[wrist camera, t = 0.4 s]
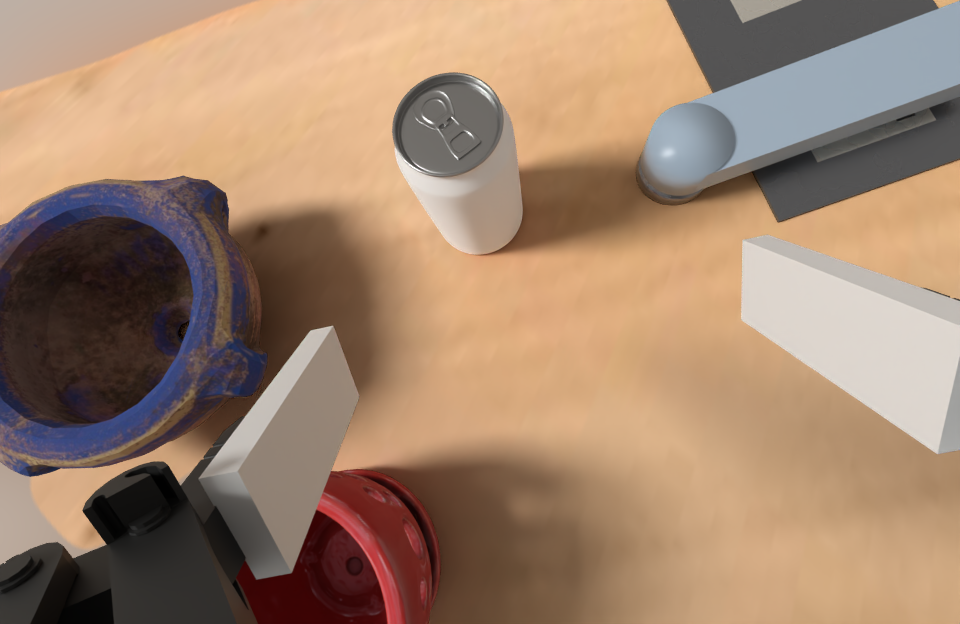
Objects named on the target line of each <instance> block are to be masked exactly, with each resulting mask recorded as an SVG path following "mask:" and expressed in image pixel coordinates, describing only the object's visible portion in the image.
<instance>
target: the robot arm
mask: <svg viewBox="0 0 960 624" xmlns="http://www.w3.org/2000/svg"><path fill="white" fill-rule="evenodd" d="M741 320H742V321H743V322H745V323H746V324H748V325H749V326H751V327H752V328H754V329H755V330H757V331H758V332H760V333H761V334H762V335H764V336H765V337H767V338H768V339H770V340H771V341H773V342H774V343H776V344H777V345H779V346H780V347H781V348H783V349H784V350H786V351H787V352H789V353H790V354H792V355H793V356H795V357H796V358H798V359H799V360H800V361H802V362H803V363H805V364H806V365H808V366H809V367H811V368H812V369H814V370H815V371H817V372H818V373H819V374H821V375H822V376H824V377H825V378H827V379H828V380H830V381H831V382H833V383H834V384H836V385H837V386H838V387H840V388H841V389H843V390H844V391H846V392H847V393H849V394H850V395H852V396H853V397H855V398H856V399H857V400H859V401H860V402H862V403H863V404H865V405H866V406H868V407H869V408H871V409H872V410H874V411H875V412H876V413H878V414H879V415H881V416H882V417H884V418H885V419H887V420H888V421H890V422H891V423H893V424H894V425H895V426H897V427H898V428H900V429H901V430H903V431H904V432H906V433H907V434H909V435H910V436H912V437H913V438H914V439H916V440H917V441H919V442H920V443H922V444H923V445H925V446H926V447H928V448H929V449H931V450H932V451H933V452H935V453H936V454H941V453H946V452H952V451H957V450H960V300H959V299H956V298H953V299H952V298H950V296H947V295H944V294H941V293H938V292H935V291H932V290H930V289H927V288H921V287H917V286H914V285H911V284H909V283H906V282H903V281H900V280H897V279H894V278H891V277H888V276H885V275H883V274H880V273H877V272H874V271H871V270H868V269H865V268H862V267H859V266H856V265H854V264H851V263H848V262H845V261H842V260H839V259H836V258H833V257H830V256H828V255H825V254H822V253H819V252H816V251H813V250H810V249H807V248H804V247H802V246H799V245H796V244H793V243H790V242H787V241H784V240H781V239H778V238H775V237H773V236H770V235H764V236H759V237H755V238H750V239H745V240H743V251H742V311H741ZM358 400H359V394H358V391H357V388H356V386H355V383H354V380H353V378H352V375H351V372H350V369H349V367H348V364H347V361H346V359H345V356H344V353H343V350H342V348H341V345H340V342H339V340H338V337H337V334H336V331H335V329H334V326H329V327H325V328H320V329H315V330H310V332H309V333H308V334H307V336H306V337H305V338H304V340H303V341H302V342H301V344H300V345H299V346H298V348H297V349H296V350H295V352H294V353H293V354H292V356H291V357H290V358H289V360H288V361H287V362H286V364H285V365H284V366H283V367H282V369H281V370H280V371H279V373H278V374H277V375H276V377H275V378H274V379H273V381H272V382H271V383H270V385H269V386H268V387H267V389H266V390H265V391H264V393H263V394H262V395H261V397H260V398H259V399H258V401H257V402H256V403H255V404H254V406H253V407H252V408H251V410H250V411H249V412H248V414H247V415H246V416H244V417H241V418H240V419H238V420H237V421H236V422H235V423H233V424H232V425H231V426H230V427H228V428H227V429H226V430H225V431H224V432H223V433H222V434H221V435H220V437H219V438H218V439H217V441H216V442H215V443H214V444H213V448H210V449H209V451H208V452H207V453H206V454H205V456H204V459H203V460H201V461H200V462H199V463H198V465H197V466H196V467H195V468H194V470H193V471H192V472H191V473H190V475H189V476H188V477H187V478H186V480H185V481H184V482H183V484H182V485H181V486H180V484H179V483H178V481H177V479H176V478H175V476H174V474H173V473H172V471H171V469H170V468H169V466H168V465H167V464H166V463H164V462H150V463H146V464H142V465H139V466H137V467H134V468H132V469H130V470H128V471H125V472H123V473H122V474H120V475H118V476H117V477H115V478H113V479H112V480H110V481H108V482H107V483H106V484H104V485H103V486H102V487H101V488H99V489H98V490H97V491H96V492H95V493H94V494H93V495H92V496H91V497H90V498H89V499H88V500H87V501H86V503H85V506H84V508H83V513H84V514H85V515H86V517H87V518H88V519H89V521H90V522H91V524H92V525H93V526H94V528H95V529H96V530H97V532H98V533H99V534H100V536H101V537H102V539H103V540H104V541H105V543H106V544H107V545H105V546H103V547H100V548H98V549H95V550H93V551H90V552H88V553H85V554H83V555H81V556H78V557H76V558H72V557H71V555H70V554H69V553H68V551H67V550H66V549H65V548H64V546H62V545H61V544H59V543H58V542H56V543H46V544H43V545H40V546H37V547H35V548H32V549H30V550H28V551H26V552H24V553H22V554H20V555H16V556H14V557H12V558H11V559H9V560H7V561H6V563H5V564H4V563H3V564H1V565H0V624H258V623H257V620H256V618H255V616H254V614H253V611H252V609H251V607H250V605H249V602H248V600H247V598H246V595H245V593H244V591H243V589H242V587H241V585H240V584H239V582H238V580H237V579H236V577H237V575H238V573H239V571H240V569H241V567H242V565H243V563H244V561H246V562H247V564H248V566H249V568H250V569H251V571H252V573H253V574H254V576H255V578H256V580H257V579H262V578H268V577H273V576H279V575H284V574H290V573H292V571H293V568H294V566H295V563H296V561H297V558H298V555H299V553H300V550H301V548H302V545H303V542H304V540H305V537H306V535H307V532H308V529H309V527H310V524H311V522H312V519H313V516H314V514H315V511H316V509H317V506H318V503H319V501H320V498H321V496H322V493H323V490H324V488H325V485H326V483H327V480H328V478H329V475H330V472H331V470H332V467H333V465H334V462H335V459H336V457H337V454H338V452H339V449H340V446H341V444H342V441H343V439H344V436H345V433H346V431H347V428H348V426H349V423H350V420H351V418H352V415H353V413H354V410H355V407H356V405H357V402H358Z"/></svg>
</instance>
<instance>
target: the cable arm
mask: <svg viewBox="0 0 960 624" xmlns="http://www.w3.org/2000/svg"><path fill="white" fill-rule="evenodd" d="M957 97H960V1H958V2H955V3H952V4H950V5H947V6H944V7H942V8H939V9H936V10H934V11H931V12H928V13H926V14H923V15H920V16H918V17H915V18H912V19H910V20H907V21H904V22H902V23H899V24H896V25H894V26H891V27H888V28H886V29H883V30H880V31H878V32H875V33H872V34H870V35H867V36H864V37H862V38H859V39H856V40H854V41H851V42H848V43H846V44H843V45H840V46H838V47H835V48H832V49H830V50H827V51H824V52H822V53H819V54H816V55H814V56H811V57H808V58H806V59H803V60H800V61H798V62H795V63H792V64H790V65H787V66H784V67H782V68H779V69H776V70H774V71H771V72H768V73H766V74H763V75H760V76H758V77H755V78H752V79H750V80H747V81H744V82H742V83H739V84H736V85H734V86H731V87H728V88H726V89H723V90H720V91H718V92H715V93H712V94H710V95H707V96H704V97H702V98H699V99H696V100H694V101H691V102H688V103H684V104H679V105H676V106H674V107H671V108H670V109H668V110H666V111H665V112H664V113H662V114H661V115H660V116H659V117H658V119H657V120H656V121H655V123H654V125H653V127H652V129H651V132H650V134H649V136H648V139H647V141H646V144H645V146H644V148H643V151H642V154H641V160H640V164H641V170H642V173H643V175H644V177H645V179H646V180H647V182H648V183H649V184H650V185H651V186H652V187H654V188H655V189H657V190H658V191H660V192H662V193H665V194H668V195H674V196H683V195H689V194H692V193H695V192H697V191H699V190H701V189H704V188H707V187H709V186H712V185H715V184H718V183H721V182H723V181H726V180H729V179H732V178H734V177H737V176H740V175H743V174H746V173H748V172H751V171H754V170H757V169H760V168H762V167H765V166H768V165H771V164H773V163H776V162H779V161H782V160H785V159H787V158H790V157H793V156H796V155H799V154H801V153H804V152H807V151H810V150H812V149H815V148H818V147H821V146H824V145H826V144H829V143H832V142H835V141H838V140H840V139H843V138H846V137H849V136H851V135H854V134H857V133H860V132H863V131H865V130H868V129H871V128H874V127H877V126H879V125H882V124H885V123H888V122H890V121H893V120H896V119H899V118H902V117H904V116H907V115H910V114H913V113H916V112H918V111H921V110H924V109H927V108H929V107H932V106H935V105H938V104H941V103H943V102H946V101H949V100H952V99H955V98H957Z"/></svg>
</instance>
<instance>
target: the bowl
mask: <svg viewBox="0 0 960 624" xmlns="http://www.w3.org/2000/svg"><path fill="white" fill-rule="evenodd" d="M227 201H228V200H227V196H226V193H225V192H223V191H222V190H220V189H219V188H218V187H216V186H215V185H213V184H212V183H211V182H209V181H208V180H200V179H192V178H189V177H186V176H180V177H177V178H172V179H167V180H155V181H131V180H114V179H104V180H99V181H94V182H88V183H83V184H77V185H72V186H69V187H66V188H64V189H62V190H59V191H57V192H55V193H53V194H50V195H48V196H46V197H44V198H41V199H39V200H37V201H35V202H33V203H31V204H30V205H29V206H28V207H26V208H25V209H24V210H23V211H22V212H20V213H19V214H18V215H17V216H16V217H14V218H13V219H12V220H11V221H10V222H8V223H6V224H3V225H0V462H1V463H3V464H4V465H5V466H7V467H8V468H10V469H11V470H13V471H15V472H18V473H20V474H22V475H25V476H29V477H31V476H39V475H42V474H46V473H50V472H53V471H56V470H58V469H60V468H63V469H65V468H96V467H103V466H109V465H113V464H116V463H119V462H123V461H126V460H129V459H133V458H136V457H139V456H142V455H145V454H147V453H149V452H151V451H153V450H155V449H157V448H158V447H160V446H162V445H164V444H165V443H167V442H170V441H173V440H175V439H177V438H179V437H180V436H182V435H184V434H186V433H187V432H189V431H191V430H193V429H194V428H196V427H198V426H199V425H200V424H201V423H203V422H204V421H205V420H206V419H207V418H208V417H210V416H211V415H212V414H213V413H214V412H215V411H216V410H218V409H219V408H220V407H221V406H222V405H223V404H224V403H226V402H227V401H228V399H229V398H234V397H238V396H241V397H246V396H250V395H252V394H253V393H254V392H255V391H256V390H258V388H259V386H260V384H261V382H262V380H263V377H264V373H265V369H266V366H267V353H265V352H263V351H262V350H261V349H260V347H259V340H260V329H261V318H262V303H261V296H260V289H259V283H258V280H257V277H256V275H255V272H254V269H253V266H252V264H251V262H250V260H249V259H248V257H247V255H246V253H245V252H244V250H243V249H242V247H241V246H240V245H239V244H238V243H237V242H236V241H235V240H234V239H233V237H232V236H231V235H230V234H229V233H228V219H229V208H228V203H227ZM187 321H190V322H189V326H188V329H187V331H186V334H185V337H184V340H183V341H182V340H181V338H180V337H179V336H178V329H179V327H180V326H181V324H183V323H186V322H187Z"/></svg>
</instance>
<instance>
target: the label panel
mask: <svg viewBox="0 0 960 624" xmlns="http://www.w3.org/2000/svg"><path fill="white" fill-rule="evenodd" d="M667 2H668V4H669V6H670V8H671V10H672V12H673V14H674V16H675V18H676V20H677V22H678V24H679V26H680V28H681V30H682V32H683V34H684V36H685V38H686V40H687V42H688V44H689V46H690V48H691V50H692V52H693V54H694V56H695V58H696V60H697V62H698V64H699V66H700V68H701V70H702V72H703V74H704V76H705V78H706V80H707V82H708V84H709V86H710V88H711V90H712V92H713V93H715V92H718V91H720V90H723V89H726V88H728V87H731V86H734V85H736V84H739V83H742V82H744V81H747V80H750V79H752V78H755V77H758V76H760V75H763V74H766V73H768V72H771V71H774V70H776V69H779V68H782V67H784V66H787V65H790V64H792V63H795V62H798V61H800V60H803V59H806V58H808V57H811V56H814V55H816V54H819V53H822V52H824V51H827V50H830V49H832V48H835V47H838V46H840V45H843V44H846V43H848V42H851V41H854V40H856V39H859V38H862V37H864V36H867V35H870V34H872V33H875V32H878V31H880V30H883V29H886V28H888V27H891V26H894V25H896V24H899V23H902V22H904V21H907V20H910V19H912V18H915V17H918V16H920V15H923V14H926V13H928V12H931V11H934V10H936V9H939V8H938V7H937V5H936V4H935V2H934V1H933V0H667ZM958 159H960V97H957V98H955V99H952V100H949V101H946V102H943V103H941V104H938V105H935V106H932V107H929V108H927V109H924V110H921V111H918V112H916V113H913V114H910V115H907V116H904V117H902V118H899V119H896V120H893V121H890V122H888V123H885V124H882V125H879V126H877V127H874V128H871V129H868V130H865V131H863V132H860V133H857V134H854V135H851V136H849V137H846V138H843V139H840V140H838V141H835V142H832V143H829V144H826V145H824V146H821V147H818V148H815V149H812V150H810V151H807V152H804V153H801V154H799V155H796V156H793V157H790V158H787V159H785V160H782V161H779V162H776V163H773V164H771V165H768V166H765V167H762V168H760V169H757V170H754V171H752V172H753V174H754V176H755V178H756V180H757V182H758V184H759V186H760V188H761V190H762V192H763V194H764V196H765V198H766V200H767V202H768V204H769V206H770V208H771V210H772V212H773V214H774V216H775V218H776V220H777V222H780V221H783V220H786V219H789V218H792V217H795V216H797V215H800V214H803V213H806V212H809V211H812V210H815V209H817V208H820V207H823V206H826V205H829V204H832V203H835V202H838V201H840V200H843V199H846V198H849V197H852V196H855V195H858V194H861V193H863V192H866V191H869V190H872V189H875V188H878V187H881V186H883V185H886V184H889V183H892V182H895V181H898V180H901V179H904V178H906V177H909V176H912V175H915V174H918V173H921V172H924V171H927V170H929V169H932V168H935V167H938V166H941V165H944V164H947V163H949V162H952V161H955V160H958Z"/></svg>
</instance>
